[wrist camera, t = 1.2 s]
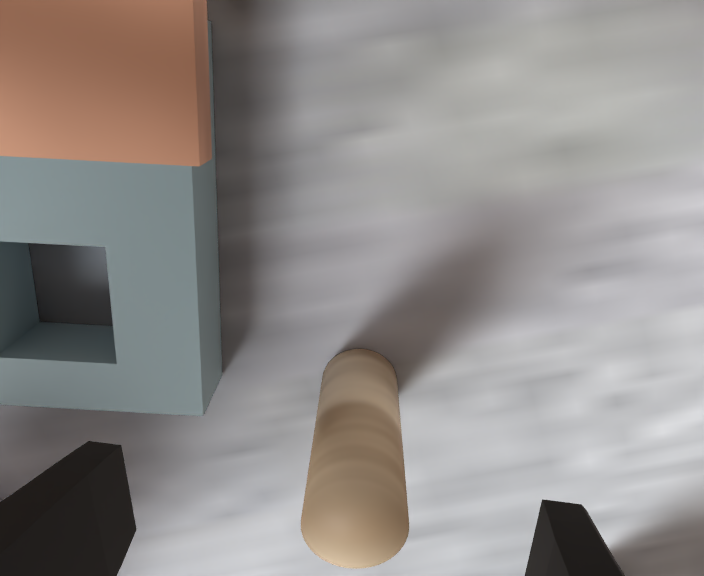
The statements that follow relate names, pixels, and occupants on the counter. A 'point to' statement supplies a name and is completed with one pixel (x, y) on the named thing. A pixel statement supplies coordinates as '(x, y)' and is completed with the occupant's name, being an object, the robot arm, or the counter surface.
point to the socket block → (114, 284)
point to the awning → (105, 81)
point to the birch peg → (356, 465)
